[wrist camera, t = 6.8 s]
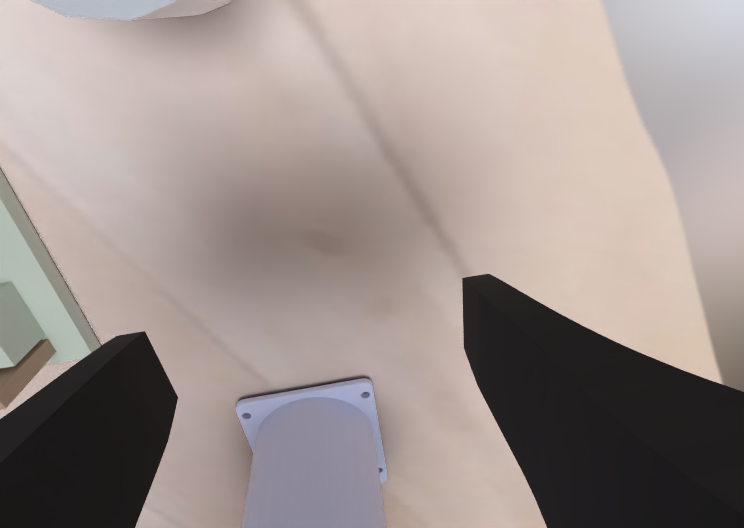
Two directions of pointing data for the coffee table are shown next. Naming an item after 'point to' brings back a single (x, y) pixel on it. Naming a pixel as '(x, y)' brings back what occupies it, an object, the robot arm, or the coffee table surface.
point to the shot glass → (131, 8)
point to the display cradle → (33, 304)
